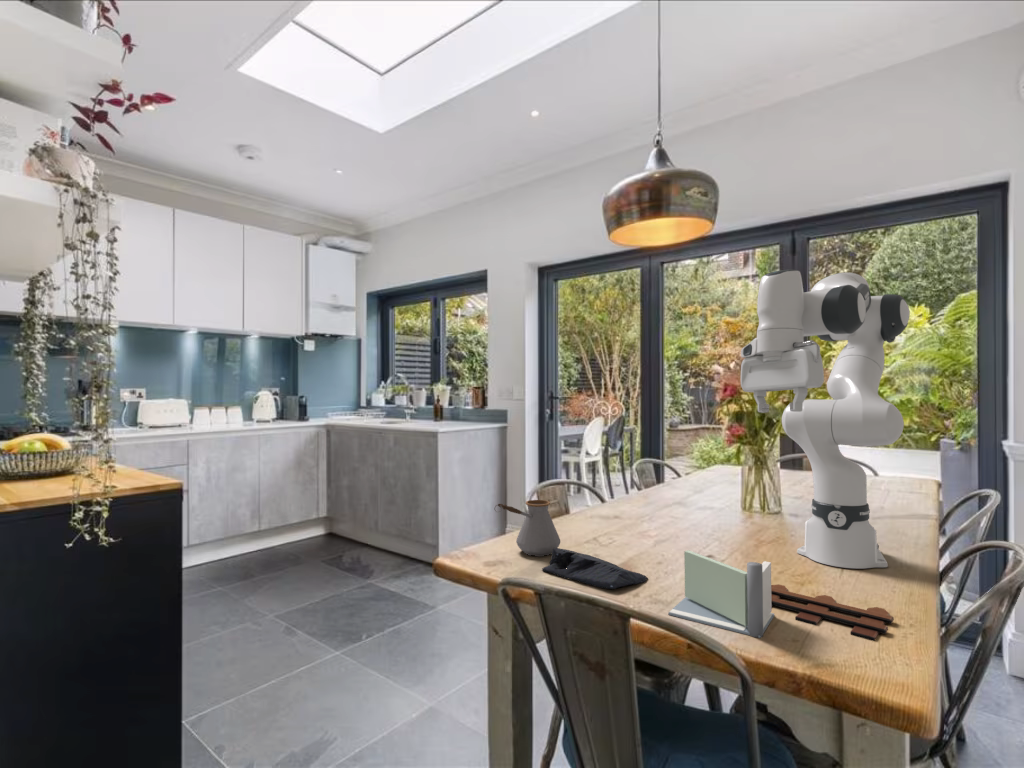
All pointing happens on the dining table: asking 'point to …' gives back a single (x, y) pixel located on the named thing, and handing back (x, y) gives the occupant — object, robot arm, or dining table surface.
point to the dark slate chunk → (591, 570)
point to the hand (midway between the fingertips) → (778, 412)
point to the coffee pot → (536, 529)
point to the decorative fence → (820, 607)
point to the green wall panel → (716, 586)
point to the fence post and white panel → (758, 596)
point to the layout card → (711, 616)
